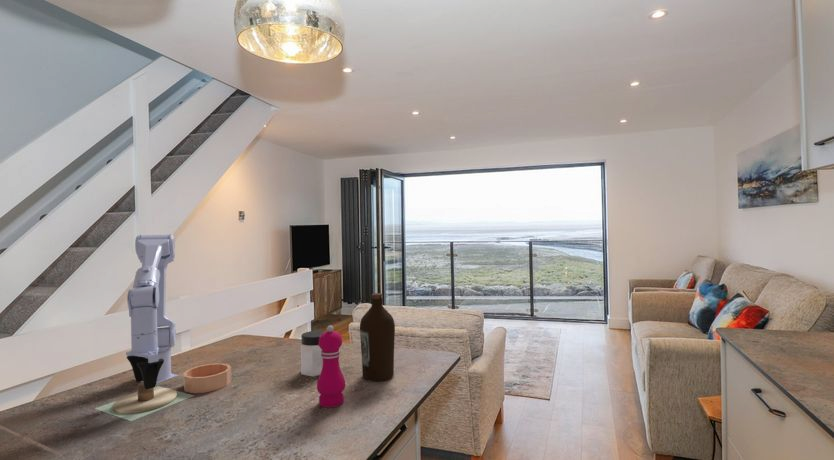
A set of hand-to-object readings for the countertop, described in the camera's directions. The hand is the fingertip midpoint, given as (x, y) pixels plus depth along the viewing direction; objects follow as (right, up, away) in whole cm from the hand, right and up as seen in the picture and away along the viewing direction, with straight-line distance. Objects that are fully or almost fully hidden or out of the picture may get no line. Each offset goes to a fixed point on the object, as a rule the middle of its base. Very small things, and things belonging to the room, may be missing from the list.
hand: (145, 384), depth 107 cm
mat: (0, -5, 0) cm, 5 cm away
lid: (0, -5, 0) cm, 5 cm away
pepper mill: (+49, -5, -1) cm, 49 cm away
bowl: (+10, -5, +12) cm, 16 cm away
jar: (+39, -5, +22) cm, 45 cm away
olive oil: (+59, -4, +17) cm, 62 cm away
